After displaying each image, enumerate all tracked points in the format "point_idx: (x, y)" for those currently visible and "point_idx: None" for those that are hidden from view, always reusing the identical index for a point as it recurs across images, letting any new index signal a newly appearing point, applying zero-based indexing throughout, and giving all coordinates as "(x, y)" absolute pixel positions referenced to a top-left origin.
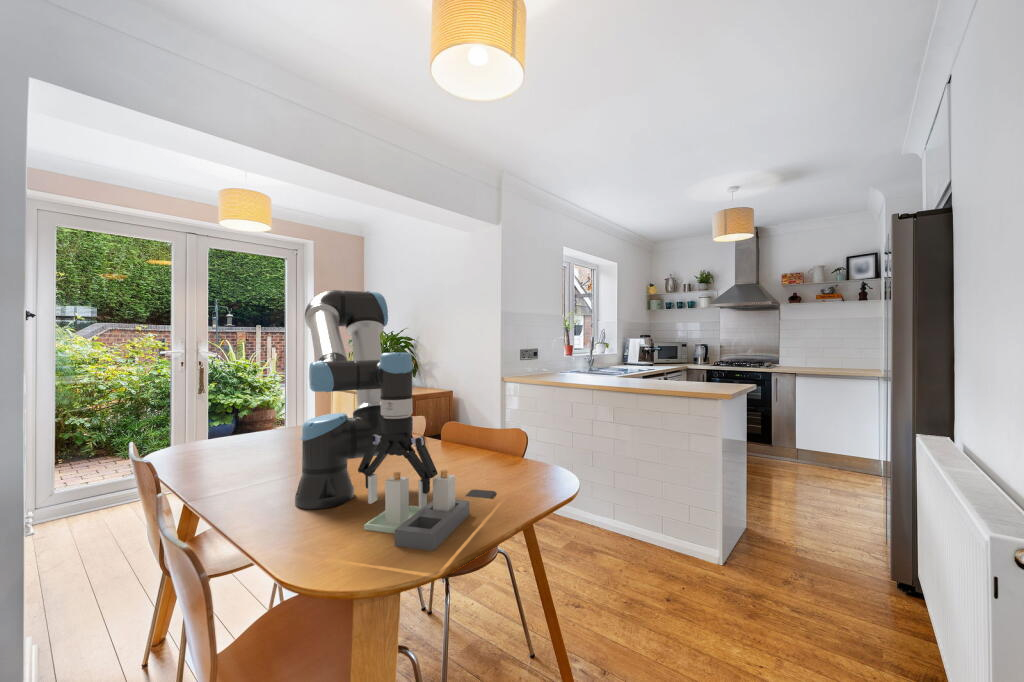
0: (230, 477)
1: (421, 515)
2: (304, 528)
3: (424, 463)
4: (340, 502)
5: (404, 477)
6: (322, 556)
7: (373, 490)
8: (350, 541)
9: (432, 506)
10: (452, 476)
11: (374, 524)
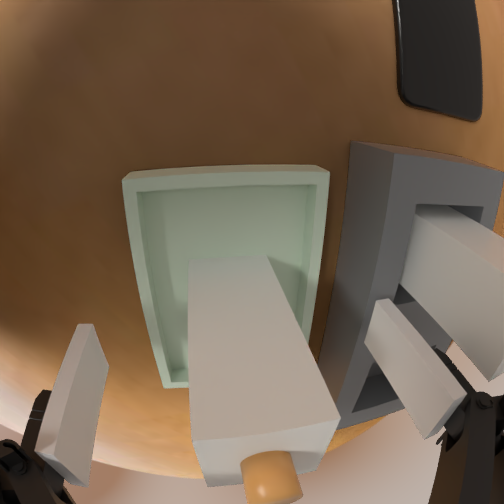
0: None
1: None
2: (8, 375)
3: (492, 491)
4: None
5: (308, 432)
6: (175, 447)
7: (90, 398)
8: (174, 407)
9: (400, 268)
10: None
11: None
